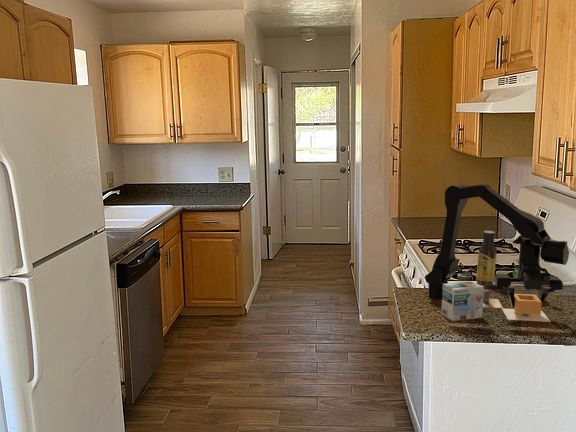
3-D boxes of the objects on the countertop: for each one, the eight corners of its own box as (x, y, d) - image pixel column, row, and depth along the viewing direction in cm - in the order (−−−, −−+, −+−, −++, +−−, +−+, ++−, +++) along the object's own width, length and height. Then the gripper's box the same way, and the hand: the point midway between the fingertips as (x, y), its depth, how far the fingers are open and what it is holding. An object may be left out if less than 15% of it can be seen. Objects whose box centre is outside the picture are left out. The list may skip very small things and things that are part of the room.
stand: (473, 309, 177) (474, 294, 176) (469, 300, 186) (470, 286, 185) (502, 310, 176) (503, 295, 175) (497, 301, 184) (498, 287, 184)
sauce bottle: (472, 281, 208) (475, 230, 204) (486, 280, 209) (489, 229, 206) (483, 286, 201) (486, 233, 198) (498, 285, 203) (501, 232, 200)
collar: (516, 313, 166) (516, 300, 166) (511, 305, 173) (512, 293, 172) (540, 314, 165) (541, 301, 164) (534, 306, 172) (535, 294, 171)
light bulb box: (452, 324, 165) (454, 289, 163) (440, 316, 171) (441, 283, 169) (483, 320, 168) (485, 286, 166) (470, 313, 174) (471, 280, 172)
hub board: (508, 322, 166) (508, 308, 165) (501, 311, 175) (502, 297, 175) (550, 324, 164) (551, 310, 163) (541, 313, 173) (542, 299, 172)
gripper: (502, 264, 160) (498, 315, 163) (570, 267, 157) (566, 319, 159) (494, 255, 171) (492, 303, 174) (559, 258, 168) (555, 307, 170)
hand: (525, 308), depth 169 cm, fingers closed on collar, 7 cm apart
